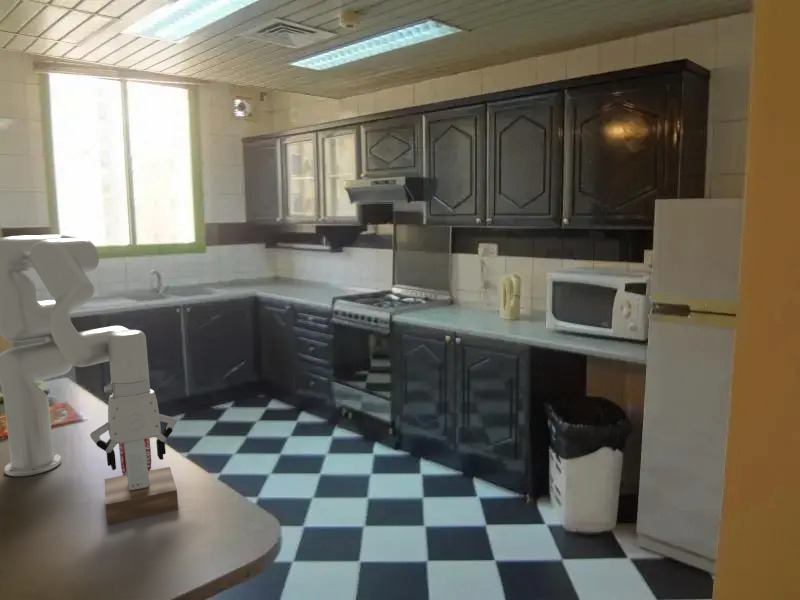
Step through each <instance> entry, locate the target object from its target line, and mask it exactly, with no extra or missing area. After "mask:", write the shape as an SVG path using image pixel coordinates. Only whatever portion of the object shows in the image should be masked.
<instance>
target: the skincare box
mask: <svg viewBox="0 0 800 600" xmlns="http://www.w3.org/2000/svg"><path fill="white" fill-rule="evenodd" d="M124 450H125V460H126V469H127V479H128V486H129V490H136V489H141V488H146V487H149V475H148V471H149V470H148V466H147V458H146V450H145V442H144V439H142V440H137V441H132V442H127V443H124Z"/></svg>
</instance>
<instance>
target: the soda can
mask: <svg viewBox="0 0 800 600" xmlns="http://www.w3.org/2000/svg"><path fill="white" fill-rule="evenodd" d="M144 442H145V450H146V458H147V466H148V471H150V470H152V451H151V449H152V448H151V438H147V439H144ZM118 450H119V459H120V462H119V463H120V469H121V473H122V474H123V475H127V469H126V460H125V450H124V443H121V444H118Z"/></svg>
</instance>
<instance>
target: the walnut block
mask: <svg viewBox="0 0 800 600" xmlns="http://www.w3.org/2000/svg"><path fill="white" fill-rule="evenodd" d="M148 475H149V487H146V488H141V489H136V490H129V486H128V479H127V475H125V474H123V475H119V476H114V477H109V478H104V500H105V502H104V503H105V514H106V515H105V516H106V525H107V526H108V525H113V524H118V523H122V522H127V521H131V520H135V519H136V520H137V519H141V518H145V516H146V517H150V515H151V516H154V515H158V514H164V513H169V512H173V511H176V510H178V511H179V500H178V499H179V498H178V489H177V486H176V482H175V479H174V476H173V473H172V469H171V467H170V466H166V467H161V468H156V469H150V470H148ZM168 511H169V512H168Z"/></svg>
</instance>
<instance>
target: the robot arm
mask: <svg viewBox="0 0 800 600" xmlns="http://www.w3.org/2000/svg"><path fill="white" fill-rule="evenodd" d="M99 262H100V255H99V251H98V249H97V247H96V246H95V244H94V243H93V242H92V241H91V240H89V239H87V238H85V237H81V236H71V235H66V234H65V235H64V234H39V235H38V234H37V235H35V234H34V235H32V234H31V235H11V236H10V235H9V236H3V237H0V336H1V337H2V339H3V340H5V341H7V342H10V343H20V342H27V341H28V342H29V341H33V340H39V339H44V338H45V341H43V342H38V343H30V344H26V345H25V344H24V345H20V346H15V347H12V348H9V349H6V350H4V351H2V352H1V353H0V388H1V392H2V393H1V394H2V397H3V398H2V399H3V405H4V412H5V421H6V429H7V439H8V448H9V457H10V462H9V463H7V464H6V465H5V466H4V469H3V470H4V474H5V475H8V476H10V477H27V476H28V477H29V476H33V475H38V474H43V473H45V472H48V471H51V470H52V469H55V468H57V467H58V466H59V465H60V464H61V463H62V457H61V455H60V454H58V453H55V451H54V441H53V434H52V433H53V432H52V431H53V430H52V422H51V414H50V404H49V403H50V402H49V399H48V398H49V397H48V396H47V394H46V393H45V391H44V390H43V389H42V388H41V387H39V386H38V385H37V383H38V382H40V381H44V380H48V379H52V378H57V377H61V376H63V375H66V374H68V373H69V372H70V371H71V369H72V368H73V366H74V367H77V368H84V367H89V366H93V365H99V364H102V363H105V362H109V369H110V370H109V371H110V372H109V373H110V383H109V384H107V385H104V387H103V389H104V393H111V394H110V395H109V397H108V406H107V422H106V423H105V424H103V425H101V426H100V427H99V428H97V429H95V430H94V431H92V432H91V433H90V434H89V436H90V438H91V440H92V441H93V442H94V443H95V444H96V447H98V448H100V449H101V450H103V451H104V452H105V454H106V461H107V466H109V467H111V469H112V471H115V470H116V469H117V463H116V462H117V461H116V452H115V450H114V449H115V447H116V446H117V445H119V444H121V443H127V442H132V441H137V440H142V439H147V438H150V439H151V438H152V439H153V438H154V437H155V438H157V439H156V443H155V444H156V453H157V457H158V459H159V460H160V461H162V460H164V455H166V442H167V439H168V438H169V436H170V435H171V434H172V433H173V431H174V430H173V429H174V428H175V426H176V424H177V419H176V418H175V417H172V416H170V415H169V416H168V415H165V414H161V413H160V411H159V405H158V400H157V397H156V396H157V395H156V393H155V391H154V390H153V389H151V385H150V373H149V372H150V369H149V359H148V347H147V336H146V334H145V332H144V331H142V330H138V329H129V328H127V327H124V326H122V325H111V326H105V327H99V328H98V327H97V328H93V329H88V330H87V329H86V330H82V331H78V330H77V329H76V327H75V326H74V324H73V323H72V321H71V317H70V315H71V313H73V312H74V311H75V310H77V309H79V308H81V307H82V306H84V305H85V304H87V302H88V301H90V300H91V299H92V297H93V296H94V293H95V286H94V285H93V283H92V281H91V280H90V278H89V277H88V276H87V274H86V273H89V272H92V271H95V270H96V269H97V267H98V265H99ZM27 271H35V272H36V274H37V275H38V276H39V278H40V279H41V281H42V283H43V285H44V286H45V287H46V290H47V291H48V293H49V295H50V296H51V298H53V299H46V300H45V299H44V300H38V297H37V289H36V288H37V287H36V285H35V283H34V281H33V279H32V278H31V276H30V275H28V273H27ZM161 422H164V423H167V425H166V427H165V428H164V429H163V430H162V428H161V425H162V424H161ZM106 432H108V435H109V439H108V440H107V441H104V440H103V439H102V438H100V437H101V436H103V434H105V433H106Z"/></svg>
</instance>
